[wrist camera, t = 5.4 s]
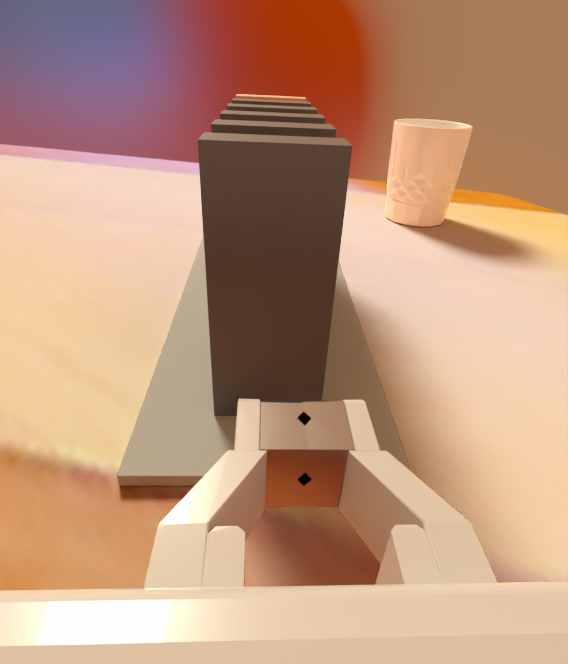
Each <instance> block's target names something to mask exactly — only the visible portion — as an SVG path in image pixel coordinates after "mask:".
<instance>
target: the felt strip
mask: <svg viewBox="0 0 568 664" xmlns="http://www.w3.org/2000/svg"><path fill="white" fill-rule="evenodd" d="M322 400H341V401H342V400H364V401H365V402H366V406H367V409H368V412H369V415H370V419H371V422H372V425H373V428H374V432H375V435H376V438H377V441H378V445H379V448H380V451H387V452H389V453H390V454H391V455H392V456H393V457H394V458H396V459H397V460H398V461H399V462H400V463H402V464H403V465H404V466H405V467H406V468H407V469H409V470H410V471H411V469H410V466H409V464H408V461H407V458H406V455H405V452H404V449H403V446H402V444H401V441H400V438H399V435H398V432H397V429H396V426H395V423H394V421H393V418H392V415H391V412H390V409H389V406H388V403H387V401H386V398H385V395H384V392H383V389H382V386H381V383H380V380H379V378H378V375H377V372H376V369H375V366H374V363H373V360H372V358H371V355H370V352H369V349H368V346H367V343H366V340H365V337H364V335H363V332H362V329H361V326H360V323H359V320H358V317H357V314H356V312H355V309H354V306H353V303H352V300H351V297H350V294H349V292H348V289H347V286H346V283H345V280H344V277H343V274H342V271H341V269H340V266H339V263H338V269H337V277H336V286H335V294H334V303H333V311H332V319H331V328H330V336H329V345H328V353H327V362H326V370H325V379H324V387H323V395H322ZM236 418H237V416H214V403H213V386H212V369H211V352H210V335H209V318H208V302H207V285H206V268H205V251H204V236H203V238H202V241H201V244H200V247H199V250H198V252H197V255H196V258H195V261H194V263H193V266H192V269H191V272H190V274H189V277H188V280H187V283H186V286H185V288H184V291H183V294H182V297H181V299H180V302H179V305H178V308H177V310H176V313H175V316H174V319H173V322H172V324H171V327H170V330H169V333H168V335H167V338H166V341H165V344H164V346H163V349H162V352H161V355H160V358H159V360H158V363H157V366H156V369H155V371H154V374H153V377H152V380H151V382H150V385H149V388H148V391H147V394H146V396H145V399H144V402H143V405H142V407H141V410H140V413H139V416H138V418H137V421H136V424H135V427H134V430H133V432H132V435H131V438H130V441H129V443H128V446H127V449H126V452H125V454H124V457H123V460H122V463H121V466H120V468H119V471H118V474H117V478H118V483H119V486H195V485H196V484H197V483H198V482H199V481H200V479H201V478H202V477H203V476H204V475H205V474H206V473H207V472H208V471H209V470H210V469H211V468H212V467H213V466H214V464H215V463H216V462H217V461H218V460H219V459H220V458H221V457H222V456H223V455H224V454H225V453H226V452H227V450H234V444H235V431H236Z"/></svg>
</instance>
